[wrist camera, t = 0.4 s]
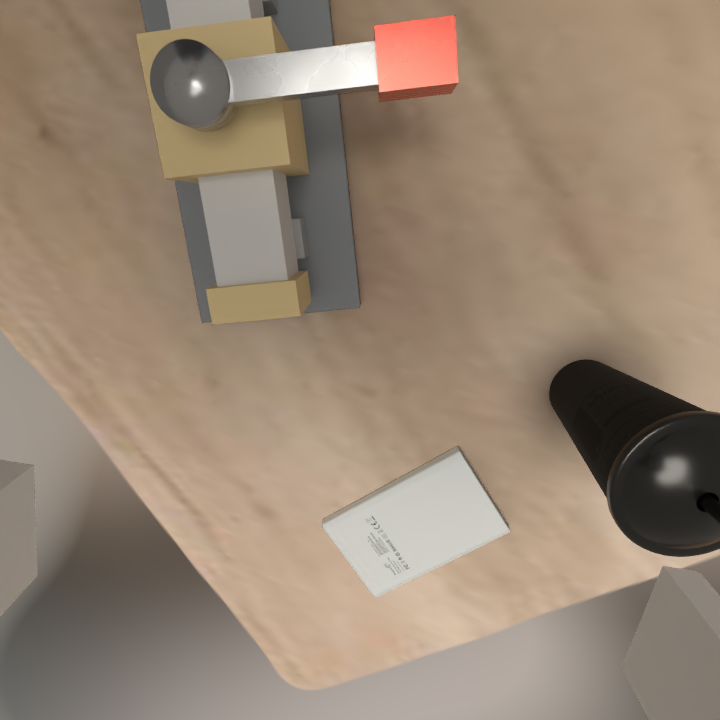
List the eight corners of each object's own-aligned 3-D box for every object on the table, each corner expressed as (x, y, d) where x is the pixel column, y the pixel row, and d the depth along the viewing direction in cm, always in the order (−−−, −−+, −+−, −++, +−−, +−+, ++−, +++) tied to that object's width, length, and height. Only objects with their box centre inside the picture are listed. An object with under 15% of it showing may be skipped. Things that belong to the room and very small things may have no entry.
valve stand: (134, -80, 30) (36, -196, 22) (318, -107, 30) (293, -238, 21) (208, 318, 37) (156, 351, 28) (360, 303, 36) (355, 333, 28)
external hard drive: (506, 521, 41) (375, 587, 44) (456, 442, 40) (322, 515, 42) (512, 533, 40) (376, 601, 42) (460, 451, 38) (320, 527, 40)
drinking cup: (560, 457, 39) (738, 697, 20) (510, 377, 37) (650, 555, 18) (654, 405, 38) (943, 609, 18) (606, 320, 36) (868, 446, 17)
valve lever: (186, 139, 25) (159, 129, 22) (173, 66, 24) (142, 44, 21) (448, 108, 24) (458, 93, 21) (444, 31, 23) (454, 3, 20)
